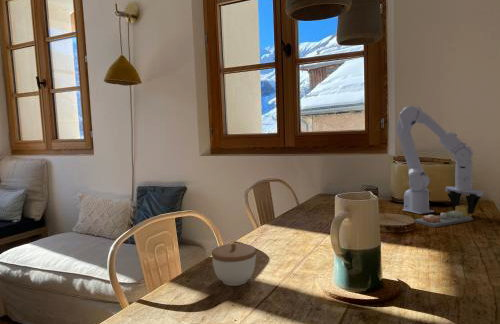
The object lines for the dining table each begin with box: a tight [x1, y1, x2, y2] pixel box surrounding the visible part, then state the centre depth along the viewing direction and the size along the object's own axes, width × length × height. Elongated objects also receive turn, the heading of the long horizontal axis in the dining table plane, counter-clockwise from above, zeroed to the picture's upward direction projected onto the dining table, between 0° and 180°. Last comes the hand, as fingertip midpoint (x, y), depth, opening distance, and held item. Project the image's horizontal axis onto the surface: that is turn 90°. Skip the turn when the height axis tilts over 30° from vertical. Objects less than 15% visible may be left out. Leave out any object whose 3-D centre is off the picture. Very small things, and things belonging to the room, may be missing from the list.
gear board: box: [413, 210, 474, 228], centre depth 138 cm, size 9×20×3 cm, turn 113°
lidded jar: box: [211, 242, 257, 287], centre depth 91 cm, size 11×11×9 cm
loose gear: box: [455, 205, 473, 217], centre depth 145 cm, size 6×6×4 cm
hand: (463, 212), depth 146 cm, fingers closed on loose gear, 6 cm apart
